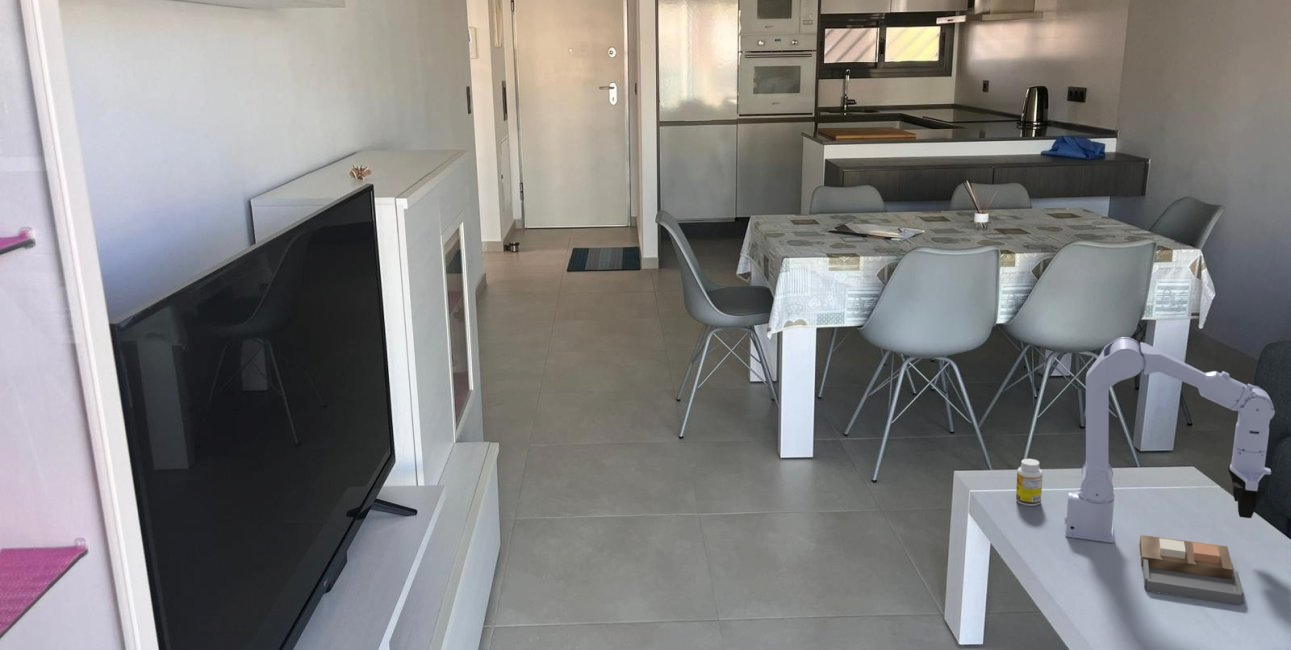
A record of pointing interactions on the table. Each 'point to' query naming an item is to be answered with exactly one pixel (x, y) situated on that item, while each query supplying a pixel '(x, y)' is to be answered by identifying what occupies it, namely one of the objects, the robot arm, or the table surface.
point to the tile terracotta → (1205, 553)
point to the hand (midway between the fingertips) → (1242, 508)
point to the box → (1193, 585)
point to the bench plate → (1187, 565)
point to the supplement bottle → (1029, 483)
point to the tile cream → (1172, 548)
